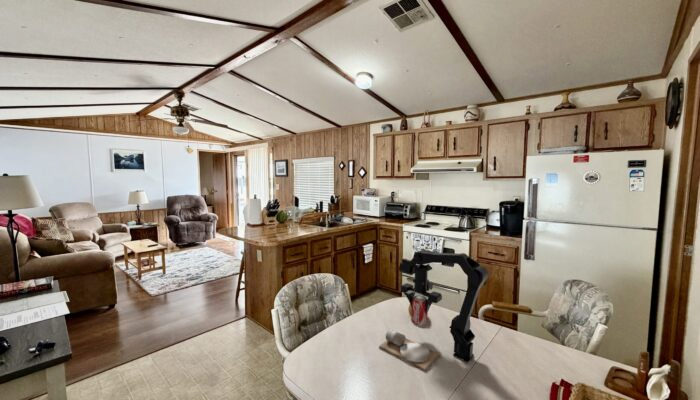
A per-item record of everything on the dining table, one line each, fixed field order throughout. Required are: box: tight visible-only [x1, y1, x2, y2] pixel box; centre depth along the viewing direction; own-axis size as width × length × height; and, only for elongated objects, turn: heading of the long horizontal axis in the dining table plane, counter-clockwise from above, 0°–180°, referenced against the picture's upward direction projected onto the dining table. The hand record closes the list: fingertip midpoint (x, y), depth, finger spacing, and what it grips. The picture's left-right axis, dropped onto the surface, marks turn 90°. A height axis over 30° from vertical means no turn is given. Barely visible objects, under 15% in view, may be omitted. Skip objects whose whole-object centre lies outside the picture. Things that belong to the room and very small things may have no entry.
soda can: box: [411, 294, 428, 327], centre depth 137 cm, size 7×7×12 cm
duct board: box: [378, 328, 441, 372], centre depth 126 cm, size 22×13×6 cm, turn 47°
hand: (419, 310), depth 137 cm, fingers closed on soda can, 7 cm apart
